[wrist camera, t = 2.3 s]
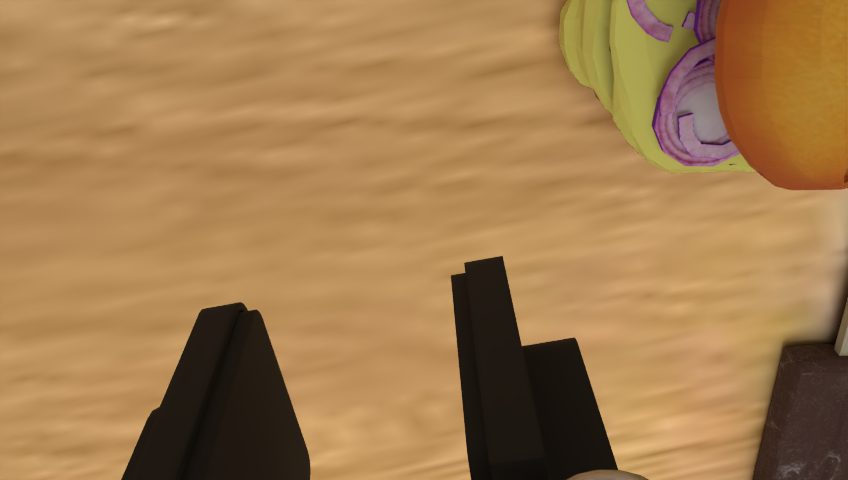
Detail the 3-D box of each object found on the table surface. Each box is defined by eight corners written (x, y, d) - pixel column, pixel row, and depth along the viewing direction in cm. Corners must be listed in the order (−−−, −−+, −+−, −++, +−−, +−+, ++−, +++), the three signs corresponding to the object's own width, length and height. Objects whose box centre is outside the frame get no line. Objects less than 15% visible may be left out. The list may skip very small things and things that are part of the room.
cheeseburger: (515, -135, 24) (704, -149, 15) (833, -223, 25) (1176, -281, 16) (567, 175, 28) (736, 305, 20) (834, 86, 30) (1105, 171, 21)
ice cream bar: (807, 235, 30) (739, 527, 37) (827, 256, 29) (752, 556, 36) (948, 232, 30) (854, 525, 37) (976, 253, 29) (872, 554, 36)
